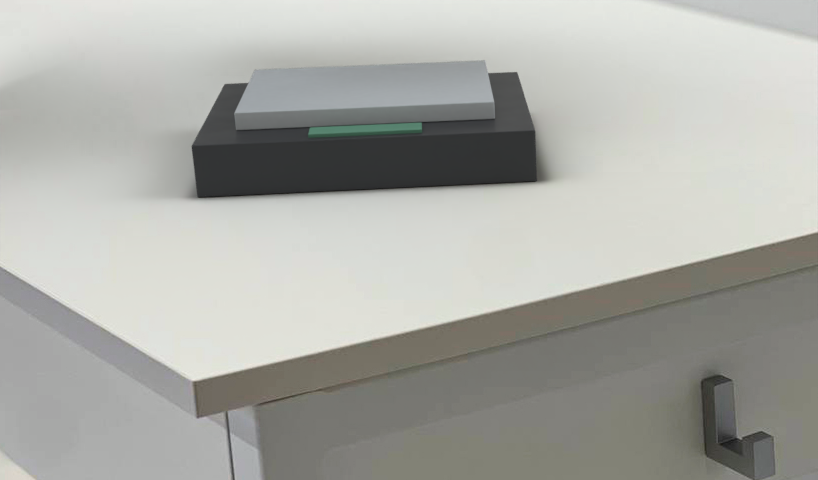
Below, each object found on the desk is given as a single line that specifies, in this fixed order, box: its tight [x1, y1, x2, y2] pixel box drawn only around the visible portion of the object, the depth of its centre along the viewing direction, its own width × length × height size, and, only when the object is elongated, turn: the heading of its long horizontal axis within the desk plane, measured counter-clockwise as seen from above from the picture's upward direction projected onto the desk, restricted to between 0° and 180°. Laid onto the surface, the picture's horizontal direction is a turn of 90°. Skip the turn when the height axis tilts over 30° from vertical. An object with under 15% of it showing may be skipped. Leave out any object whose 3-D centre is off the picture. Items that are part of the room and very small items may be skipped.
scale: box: [191, 59, 538, 198], centre depth 93 cm, size 18×16×4 cm
